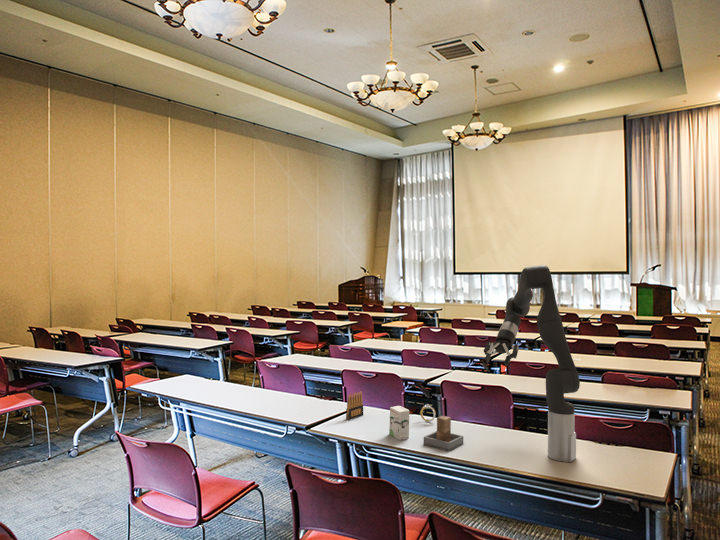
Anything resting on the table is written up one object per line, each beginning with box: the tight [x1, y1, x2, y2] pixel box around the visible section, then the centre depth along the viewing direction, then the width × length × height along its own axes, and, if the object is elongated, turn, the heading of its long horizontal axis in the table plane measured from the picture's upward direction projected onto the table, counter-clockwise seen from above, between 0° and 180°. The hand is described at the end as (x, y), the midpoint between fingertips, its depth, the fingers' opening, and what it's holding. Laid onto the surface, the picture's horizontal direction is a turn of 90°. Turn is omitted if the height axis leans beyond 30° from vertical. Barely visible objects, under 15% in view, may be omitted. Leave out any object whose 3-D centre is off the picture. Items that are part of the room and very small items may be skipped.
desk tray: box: [423, 430, 464, 452], centre depth 202 cm, size 12×12×3 cm
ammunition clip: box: [345, 390, 364, 421], centre depth 238 cm, size 11×2×12 cm, turn 140°
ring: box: [419, 403, 437, 423], centre depth 232 cm, size 7×3×8 cm, turn 61°
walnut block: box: [436, 415, 452, 442], centre depth 202 cm, size 4×4×10 cm
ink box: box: [388, 405, 410, 441], centre depth 211 cm, size 9×5×12 cm, turn 28°
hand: (496, 363), depth 214 cm, fingers open, 8 cm apart
